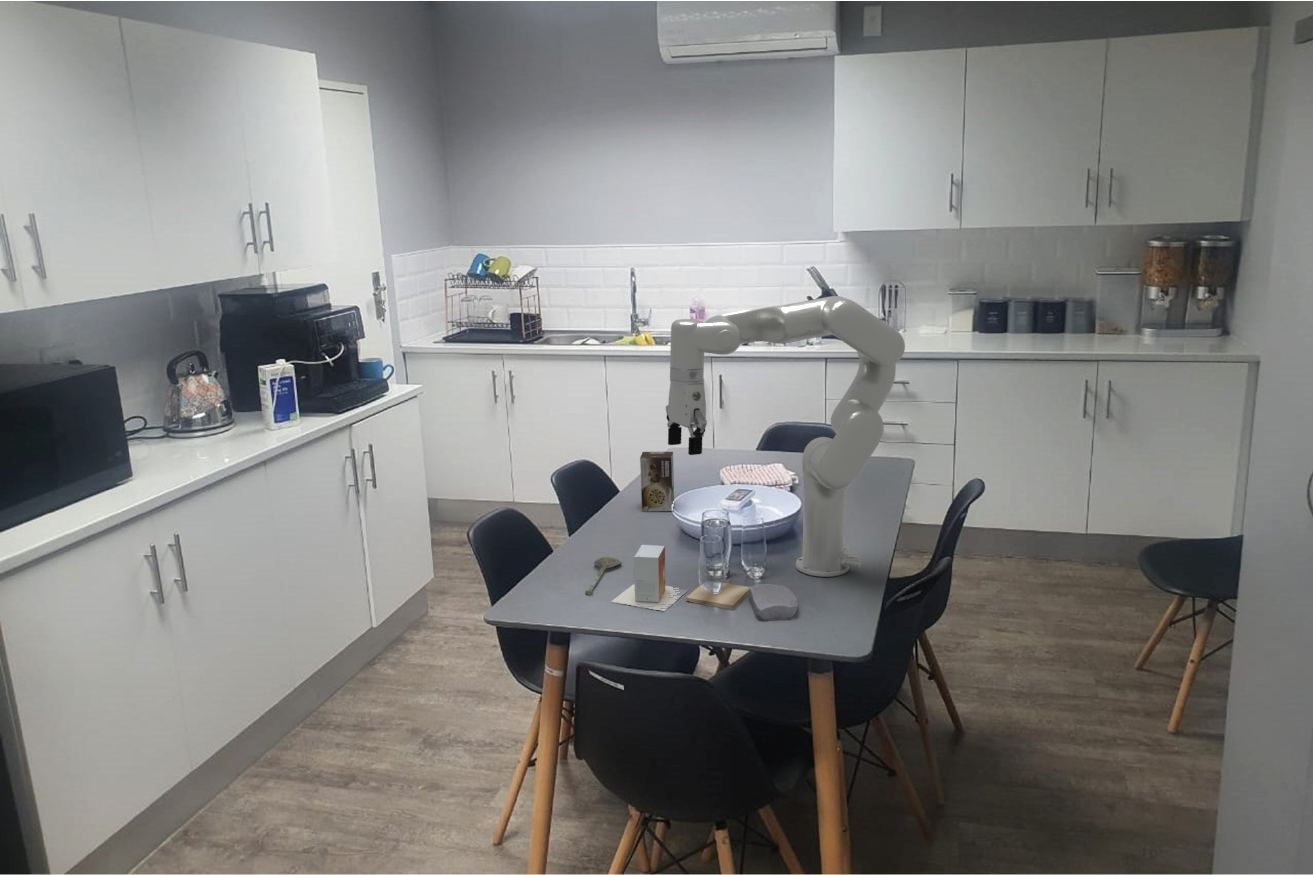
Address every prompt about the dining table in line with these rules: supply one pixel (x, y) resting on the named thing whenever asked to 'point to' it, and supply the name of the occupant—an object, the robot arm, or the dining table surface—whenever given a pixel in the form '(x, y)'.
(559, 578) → the dining table surface
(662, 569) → the small box
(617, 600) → the cream tile
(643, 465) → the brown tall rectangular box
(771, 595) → the stone block
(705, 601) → the wooden board
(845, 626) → the dining table surface
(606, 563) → the soupspoon
